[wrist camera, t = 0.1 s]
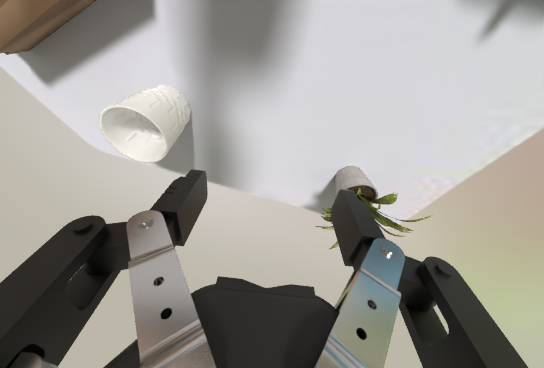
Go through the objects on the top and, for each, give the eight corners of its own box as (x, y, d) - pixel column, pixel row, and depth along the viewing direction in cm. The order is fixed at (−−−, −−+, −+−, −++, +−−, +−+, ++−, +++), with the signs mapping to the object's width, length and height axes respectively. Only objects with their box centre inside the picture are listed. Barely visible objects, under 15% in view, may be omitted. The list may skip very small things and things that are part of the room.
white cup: (200, 129, 34) (176, 163, 27) (157, 129, 35) (122, 162, 27) (185, 79, 29) (151, 105, 21) (134, 80, 29) (83, 105, 22)
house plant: (355, 123, 32) (397, 196, 20) (407, 163, 36) (466, 242, 24) (300, 177, 40) (305, 251, 28) (348, 204, 45) (370, 277, 33)
